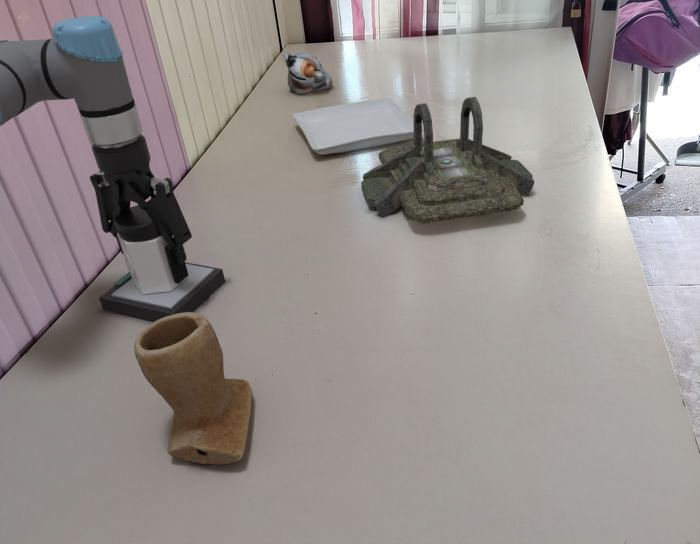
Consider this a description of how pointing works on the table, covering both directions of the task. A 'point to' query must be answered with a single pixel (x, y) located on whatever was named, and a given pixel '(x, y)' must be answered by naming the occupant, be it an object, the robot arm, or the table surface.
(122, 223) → the jar
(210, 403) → the clay smoking pipe
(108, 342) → the table surface
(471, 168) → the grey stone stepped platform
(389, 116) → the square plate
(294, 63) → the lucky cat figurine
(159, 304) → the scale
